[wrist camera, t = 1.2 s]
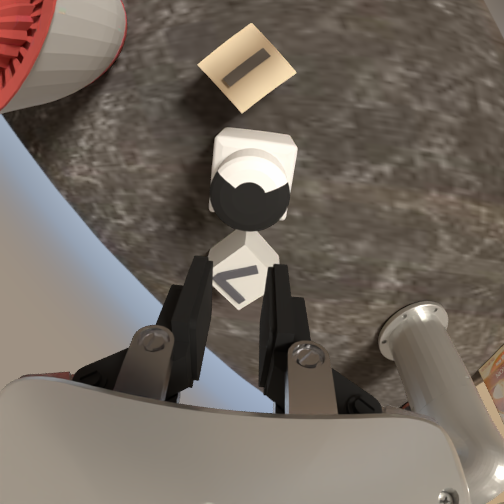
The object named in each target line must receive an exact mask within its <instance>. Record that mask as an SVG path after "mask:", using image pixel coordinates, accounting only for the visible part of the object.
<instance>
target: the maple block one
mask: <svg viewBox="0 0 504 504" xmlns="http://www.w3.org/2000/svg"><path fill="white" fill-rule="evenodd" d="M198 66H199V67H200V68H201V69H202V70H203V71H204V72H205V73H206V75H207V76H208V77H209V78H210V79H211V80H212V81H213V82H214V83H215V84H216V85H217V86H218V87H219V89H220V90H221V91H222V92H223V93H224V94H225V95H226V96H227V97H228V98H229V100H230V101H231V102H232V103H233V104H234V105H235V106H236V107H237V109H238V110H239V111H240V112H241V113H243V112H245V111H246V110H247V109H248V108H250V107H251V106H252V105H254V104H255V103H256V102H257V101H259V100H260V99H261V98H263V97H264V96H265V95H267V94H268V93H269V92H271V91H272V90H273V89H275V88H276V87H278V86H279V85H280V84H282V83H283V82H284V81H286V80H287V79H289V78H290V77H291V76H293V75H294V74H296V71H295V70H294V69H293V68H292V67H291V65H290V64H289V63H288V62H287V61H286V60H285V58H284V57H283V56H282V55H281V54H280V53H279V52H278V51H277V49H276V48H275V47H274V46H273V45H272V44H271V43H270V42H269V41H268V40H267V38H266V37H265V36H264V35H263V34H262V33H261V32H260V31H259V30H258V29H257V28H256V27H255V26H254V25H253V24H252V23H251V24H249V25H248V26H246V27H245V28H244V29H242V30H241V31H240V32H238V33H237V34H235V35H234V36H233V37H231V38H230V39H229V40H227V41H226V42H225V43H224V44H222V45H221V46H220V47H218V48H217V49H216V50H215V51H213V52H212V53H211V54H210V55H209V56H207V57H206V58H205V59H204V60H202V61H201V62H200V63H199V64H198Z"/></svg>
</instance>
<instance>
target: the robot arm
mask: <svg viewBox="0 0 504 504" xmlns="http://www.w3.org/2000/svg"><path fill="white" fill-rule="evenodd" d="M212 282H213V261H209V259H208V257H204V256H194V259H193V261H192V264H191V267H190V269H189V272H188V275H187V278H186V280H185V283H184V286H182V285H174V284H173V285H172V286H171V288H170V290H169V293H168V295H167V298H166V300H165V302H164V305H163V307H162V310H161V312H160V315H159V318H158V320H157V323H156V325H150V326H145V327H143V328H141V329H139V330H138V331H137V332H136V333H135V334H134V336H133V338H132V341H131V344H130V346H129V348H127V349H124V350H122V351H120V352H117V353H115V354H113V355H111V356H108V357H106V358H103V359H101V360H99V361H96V362H94V363H91V364H89V365H87V366H84V367H82V368H81V369H79V370H78V371H77V372H76V373H75V374H72V375H71V374H70V372H59V373H45V374H28V375H23V376H21V377H20V378H18V379H16V380H14V381H11V382H10V383H9V384H7V385H6V386H5V387H4V388H3V389H2V390H1V391H0V504H486V503H488V502H489V501H491V500H493V499H494V498H495V497H497V496H498V495H499V494H500V493H502V492H503V491H504V439H503V437H502V436H501V434H500V432H499V431H498V429H497V428H496V426H495V424H494V422H493V421H492V419H491V417H490V415H489V413H488V411H487V409H486V407H485V405H484V403H483V401H482V399H481V397H480V395H479V393H478V391H477V389H476V387H475V385H474V383H473V380H472V378H471V376H470V374H469V372H468V370H467V369H466V367H465V365H464V363H463V361H462V359H461V357H460V355H459V353H458V351H457V350H456V348H455V346H454V344H453V342H452V340H451V339H450V337H449V335H448V333H447V332H446V329H447V326H448V316H447V313H446V311H445V310H444V308H443V307H442V306H441V305H440V304H438V303H436V302H432V301H423V302H418V303H414V304H411V305H409V306H407V307H405V308H403V309H401V310H400V311H398V312H397V313H396V314H394V315H393V316H392V317H391V318H390V319H389V320H388V321H387V322H386V324H385V325H384V326H383V328H382V330H381V332H380V334H379V338H378V345H379V349H380V351H381V353H382V354H383V356H384V357H386V358H387V359H390V360H393V361H394V362H395V364H396V367H397V370H398V373H399V375H400V378H401V381H402V384H403V387H404V390H405V393H406V396H407V399H408V402H409V405H410V408H411V411H412V412H411V411H408V410H404V409H400V408H397V407H393V406H390V405H387V406H386V407H383V406H381V405H380V403H379V402H378V400H376V399H375V398H374V397H373V396H372V395H370V394H369V393H367V392H366V391H364V390H363V389H361V388H360V387H358V386H357V385H355V384H354V383H352V382H351V381H350V380H348V379H347V378H345V377H344V376H342V375H341V374H339V373H338V372H337V371H335V370H334V369H332V368H331V362H330V356H329V353H328V351H327V350H326V349H325V348H324V347H323V346H321V345H320V344H318V343H316V342H313V341H311V339H310V332H309V326H308V320H307V313H306V307H305V301H304V298H301V297H291V292H290V283H289V275H288V266H287V265H284V264H273V267H268V271H267V277H266V284H265V291H264V297H263V304H262V310H261V317H260V341H259V387H264V395H267V396H268V397H269V398H270V399H271V400H273V401H274V404H273V413H258V412H257V413H256V412H245V411H244V412H243V411H233V410H223V409H215V408H206V407H198V406H192V405H185V404H179V400H180V392H181V391H182V390H184V389H186V388H188V387H190V388H192V386H193V381H194V380H197V381H198V380H199V377H200V371H201V366H202V361H203V356H204V351H205V346H206V341H207V336H208V331H209V326H210V321H211V313H212ZM499 504H504V502H503V503H499Z"/></svg>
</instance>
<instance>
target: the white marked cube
mask: <svg viewBox="0 0 504 504" xmlns="http://www.w3.org/2000/svg"><path fill="white" fill-rule="evenodd" d="M208 259H209V261H213V282H212V286H213V287H215V288H216V289H217V290H218V291H219V292H220V293H221V294H222V295H223V296H224V297H225V298H226V299H227V300H228V301H229V302H230V303H232V304H233V305H234V306H235V307H236V308H237V309H238V310H240V309H241V308H243V307H245V306H246V305H248V304H249V303H251V302H253V301H254V300H256V299H257V298H259V297H261V296H262V295H264V291H265V284H266V277H267V271H268V267H273V264H279V256H278V254H277V253H276V252H275V251H274V250H273V249H272V248H271V247H270V245H269V244H268V243H267V242H266V241H265V240H264V239H263V238H262V236H261V235H260V234H259V233H258V232H257V231H253V232H248V231H241V230H237V229H236V230H235V231H233V232H232V233H231V234H229V235H228V236H227V237H225V238H224V239H223V240H221V241H220V242H219V243H217V244H216V245H215V246H214V247H212V248H211V249H210V251H209V255H208Z"/></svg>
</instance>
